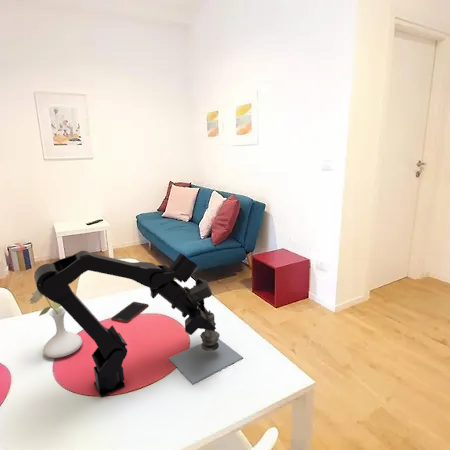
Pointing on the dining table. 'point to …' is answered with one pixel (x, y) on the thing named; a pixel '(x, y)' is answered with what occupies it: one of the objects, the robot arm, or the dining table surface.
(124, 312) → the cell phone
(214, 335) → the dark grey chess piece
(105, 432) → the dining table surface
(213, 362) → the mat
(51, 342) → the flower in vase
